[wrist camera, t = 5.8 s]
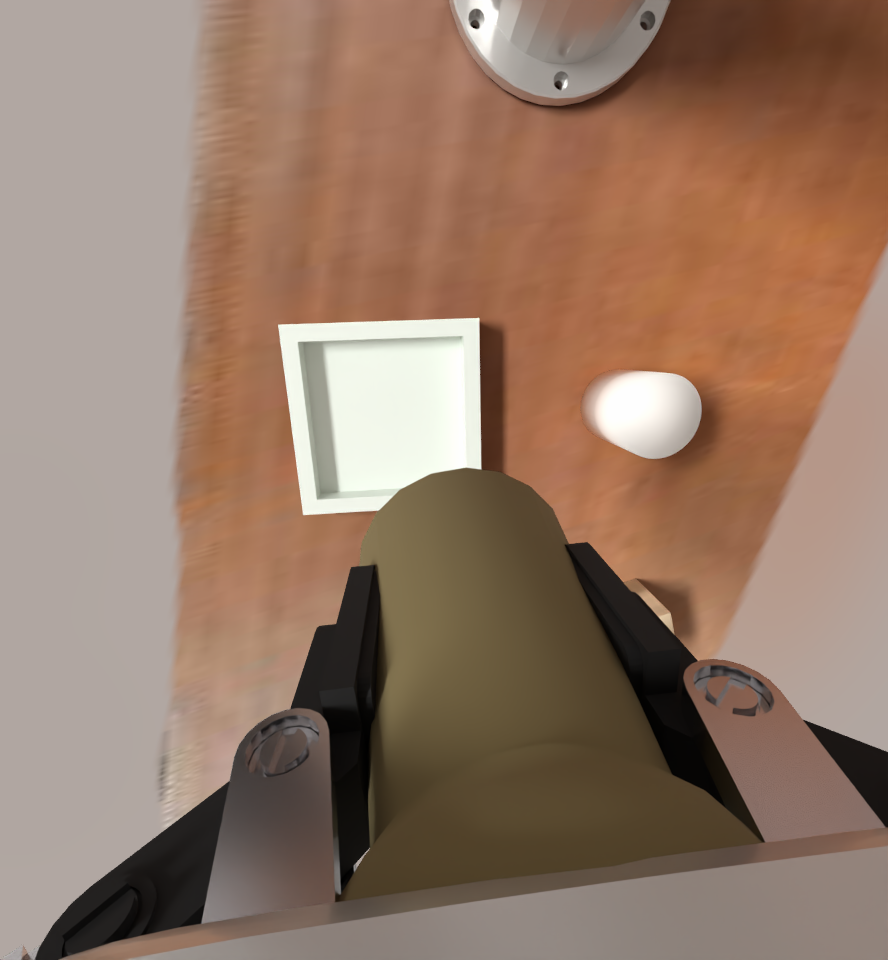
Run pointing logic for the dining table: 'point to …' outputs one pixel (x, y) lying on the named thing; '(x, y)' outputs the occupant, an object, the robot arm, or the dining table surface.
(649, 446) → the white rounded cylinder
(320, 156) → the dining table surface
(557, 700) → the olive rounded tall piece
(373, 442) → the tray
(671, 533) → the dining table surface
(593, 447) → the dining table surface
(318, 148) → the dining table surface
